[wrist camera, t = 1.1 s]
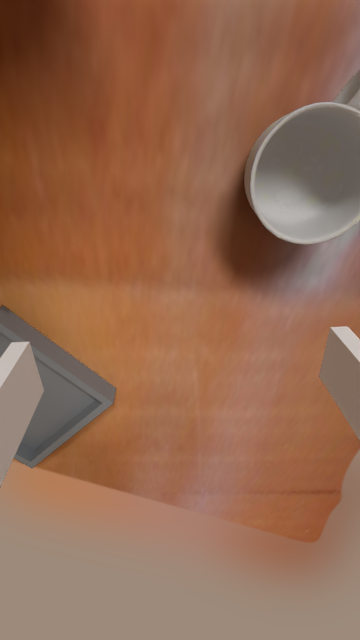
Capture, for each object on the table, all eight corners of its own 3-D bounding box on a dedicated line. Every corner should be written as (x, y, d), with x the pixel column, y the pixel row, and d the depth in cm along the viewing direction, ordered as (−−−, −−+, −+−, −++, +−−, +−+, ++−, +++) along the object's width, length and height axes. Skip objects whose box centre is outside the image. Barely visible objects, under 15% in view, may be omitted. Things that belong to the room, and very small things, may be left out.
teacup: (286, 244, 38) (314, 268, 31) (212, 182, 34) (224, 194, 27) (388, 130, 33) (449, 128, 26) (313, 45, 29) (360, 16, 22)
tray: (-73, 388, 45) (-88, 403, 43) (2, 305, 40) (-9, 317, 37) (38, 451, 52) (32, 468, 49) (116, 388, 47) (113, 403, 44)
